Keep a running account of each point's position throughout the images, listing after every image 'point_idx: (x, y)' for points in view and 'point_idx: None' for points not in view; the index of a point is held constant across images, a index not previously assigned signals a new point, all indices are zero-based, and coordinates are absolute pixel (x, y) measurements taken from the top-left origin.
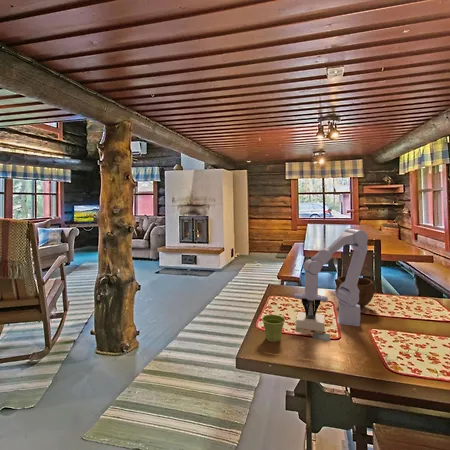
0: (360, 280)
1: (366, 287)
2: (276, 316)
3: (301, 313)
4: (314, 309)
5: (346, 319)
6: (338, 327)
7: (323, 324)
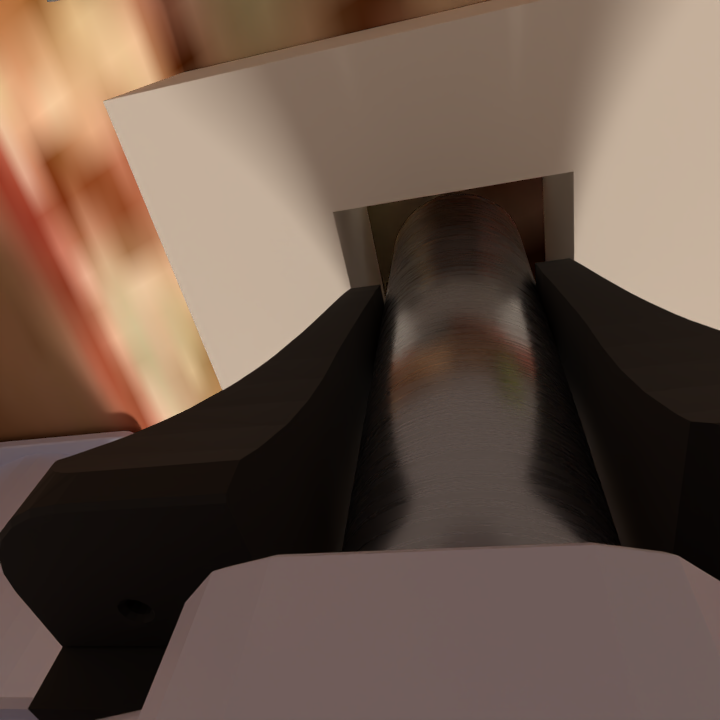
0: None
1: None
2: None
3: None
4: (333, 359)
5: (13, 492)
6: (91, 342)
7: (132, 91)
